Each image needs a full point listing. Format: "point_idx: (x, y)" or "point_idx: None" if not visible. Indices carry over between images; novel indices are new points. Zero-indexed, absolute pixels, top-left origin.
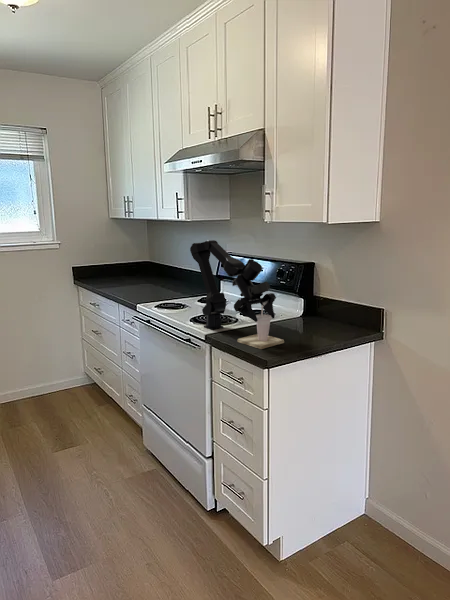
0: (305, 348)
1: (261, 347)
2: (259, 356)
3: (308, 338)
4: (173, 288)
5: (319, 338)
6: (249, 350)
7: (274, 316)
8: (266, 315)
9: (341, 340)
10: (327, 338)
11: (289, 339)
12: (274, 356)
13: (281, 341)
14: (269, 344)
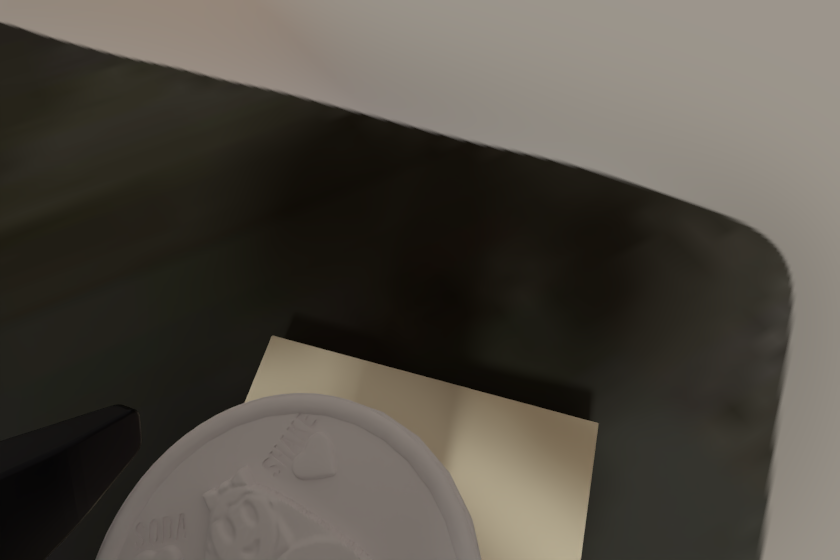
0: (346, 152)
1: (588, 423)
2: (773, 334)
3: (67, 235)
4: None
5: (42, 174)
6: (704, 511)
7: (116, 405)
8: (223, 536)
9: (53, 57)
10: (26, 134)
11: (151, 350)
12: (674, 238)
13: (307, 346)
14: (473, 390)
